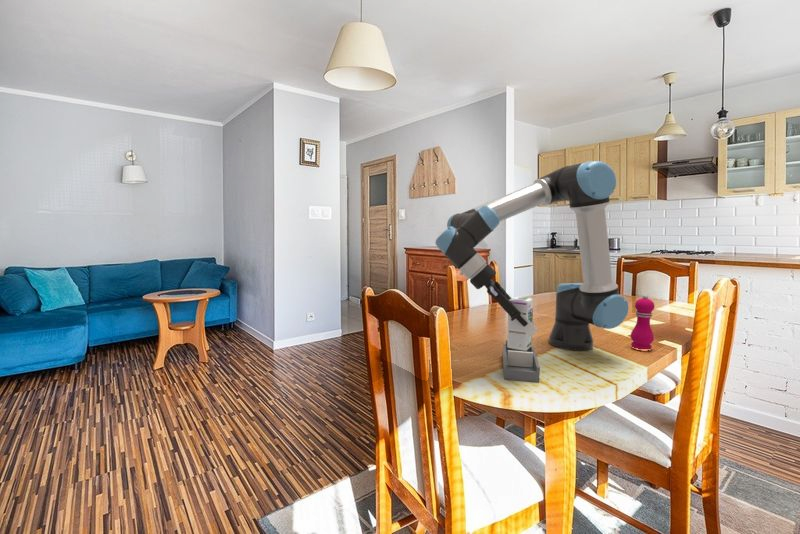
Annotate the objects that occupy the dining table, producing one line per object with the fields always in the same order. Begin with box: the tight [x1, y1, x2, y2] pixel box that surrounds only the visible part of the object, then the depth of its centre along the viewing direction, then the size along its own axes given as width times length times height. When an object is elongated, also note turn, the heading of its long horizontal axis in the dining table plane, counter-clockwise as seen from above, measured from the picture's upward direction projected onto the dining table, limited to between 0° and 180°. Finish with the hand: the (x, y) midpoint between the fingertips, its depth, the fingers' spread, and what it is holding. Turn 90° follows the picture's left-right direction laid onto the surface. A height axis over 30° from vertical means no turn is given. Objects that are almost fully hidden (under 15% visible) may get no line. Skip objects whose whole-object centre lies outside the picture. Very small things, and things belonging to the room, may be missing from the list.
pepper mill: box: [630, 293, 655, 350], centre depth 146 cm, size 7×7×20 cm
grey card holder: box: [502, 339, 541, 383], centre depth 125 cm, size 20×10×6 cm, turn 167°
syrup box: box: [506, 296, 534, 351], centre depth 119 cm, size 6×6×14 cm
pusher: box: [507, 350, 533, 368], centre depth 127 cm, size 6×7×4 cm
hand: (532, 329), depth 118 cm, fingers closed on syrup box, 7 cm apart
